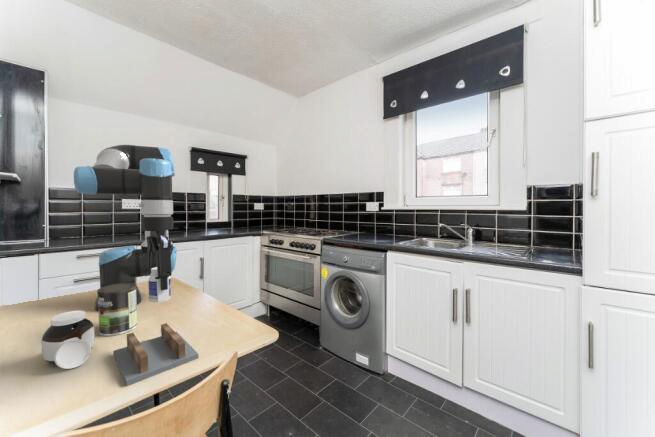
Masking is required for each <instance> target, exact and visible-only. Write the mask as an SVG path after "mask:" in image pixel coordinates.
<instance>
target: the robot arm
mask: <svg viewBox="0 0 655 437" xmlns="http://www.w3.org/2000/svg"><path fill="white" fill-rule="evenodd" d="M175 172H176V171H175V165H174V159H173V155H172V151H171V150H170V149H168V148H163V147H159V146H157V147H155V146H144V145H134V144H133V145H132V144H118V145H114V146H109V147H106V148H104V149H102V150H101V151H100V152H99V153H98V154H97V156H96V162H95V163H94V164H93V166H90V165H87V166H86V165H85V166H79V165H78V166H76V167H75V168H74V169H73V184H74V189H75V191H76V192H77V193H79V194H83V195H84V194H85V195H92V196H94V195H120V196H121V195H123V196H124V195H126V196H127V195H130V196H133V195H134V196H140V203H139V204H138V207H139V208H140V212H141V213H140V214H141V215H142V217H141V218H140V220H141V221H140V223H141V225H140V226H141V230H142V231H144V241H143V242H142V243H141V244H140V248H137V249H136V247H135V246H134V245H124V246H118V247H114V248H113V247H112V248H110V249H105V250H104V251H102V252H100V253H99V255H98V256H99V257H98V268H99V289H100V288H102V287H104V286H108V285H112V284H119V283H134V284H136V285H137V278H142V277H150V276H152V274H151V269H152V268H154V267H157V272H158V277H155V279H157V302H156V303H162V302H166V301H170V299H169V276H170V277H171V276H172V274H173V272H174V271H175V267H176V263H177V256H178V255H177V251H178V250H177V249H178V248H177V246H175V245H174V244H173V241H172V240H171V239H169V231H170V230H171V231H172V230H173V229H174V217H173V216H172V215H173V214H174V201H173V177H175V175H176V173H175ZM142 300H143V299H142V293H141V291H140V289H139V287H138V285H137V287H136V302H137V305H139V304H141V303H142ZM94 303H95V304H94V308H95V310H96V311H97V312H99V309H98V296H96V299H95V302H94Z"/></svg>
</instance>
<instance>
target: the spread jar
mask: <svg viewBox="0 0 655 437" xmlns="http://www.w3.org/2000/svg"><path fill="white" fill-rule="evenodd" d="M49 321H50V326H49V327H48V328H47V329H46V330H45V332H43V334H42V338H41V354H42V358H43V360H44V361H46V362H47V363H49V364H53V365H56V366H57V367H58V368H61V369H65V370H71V369H75V368H78V367H79V366H81V365H84V363H85V362H86V361H87V360H88V359H89V357H90V355H91V352H92V349H93V346H94V344H95V326H94V323H93V322H92V321H91V320H90V319H88V318H86V312H85V311H84V310H71V311H65V312H61V313H59V314H56V315H53V316H52V317H51V318H50V320H49Z"/></svg>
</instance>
